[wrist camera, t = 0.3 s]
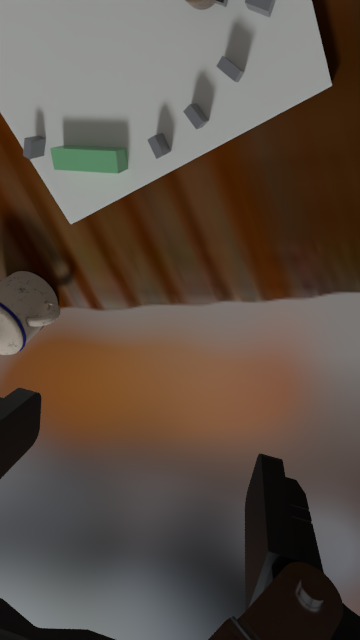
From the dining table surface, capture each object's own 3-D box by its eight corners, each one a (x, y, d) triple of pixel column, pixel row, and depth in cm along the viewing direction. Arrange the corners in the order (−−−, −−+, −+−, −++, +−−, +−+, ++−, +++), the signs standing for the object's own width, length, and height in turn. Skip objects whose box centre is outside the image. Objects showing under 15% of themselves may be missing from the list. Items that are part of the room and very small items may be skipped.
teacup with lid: (20, 319, 55) (-35, 365, 45) (-2, 268, 50) (-70, 308, 41) (84, 322, 51) (38, 373, 42) (66, 268, 46) (10, 312, 37)
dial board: (-64, -8, 32) (-103, -19, 29) (218, -380, 19) (203, -478, 15) (76, 220, 42) (59, 231, 39) (330, 85, 28) (335, 85, 25)
